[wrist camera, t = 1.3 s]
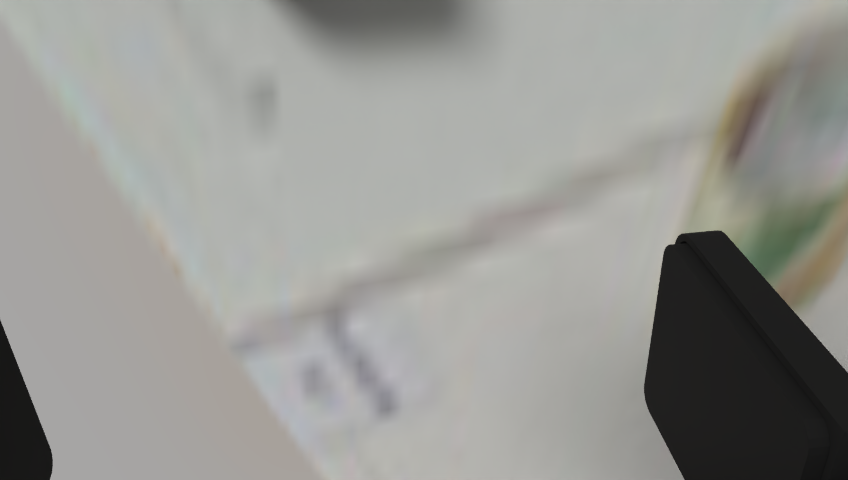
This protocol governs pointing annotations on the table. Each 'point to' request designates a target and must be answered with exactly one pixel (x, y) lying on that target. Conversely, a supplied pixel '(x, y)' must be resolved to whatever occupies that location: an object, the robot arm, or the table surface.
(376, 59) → the table surface
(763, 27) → the table surface
